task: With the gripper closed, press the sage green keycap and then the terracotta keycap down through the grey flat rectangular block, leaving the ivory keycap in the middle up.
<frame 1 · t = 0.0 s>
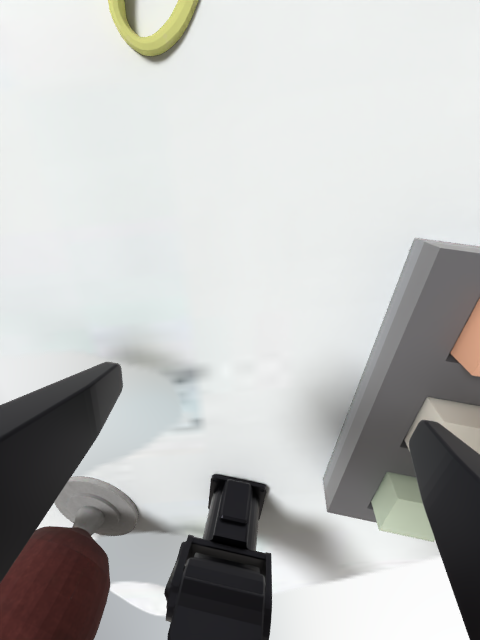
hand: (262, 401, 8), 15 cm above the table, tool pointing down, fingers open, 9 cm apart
ivory keycap: (454, 437, 21), point 4 cm above the table, slide at 0.0 cm
sage keycap: (410, 505, 24), point 4 cm above the table, slide at 0.0 cm
grey flat rectangular block: (427, 398, 24), on the table
mate gourd: (92, 502, 40), on the table
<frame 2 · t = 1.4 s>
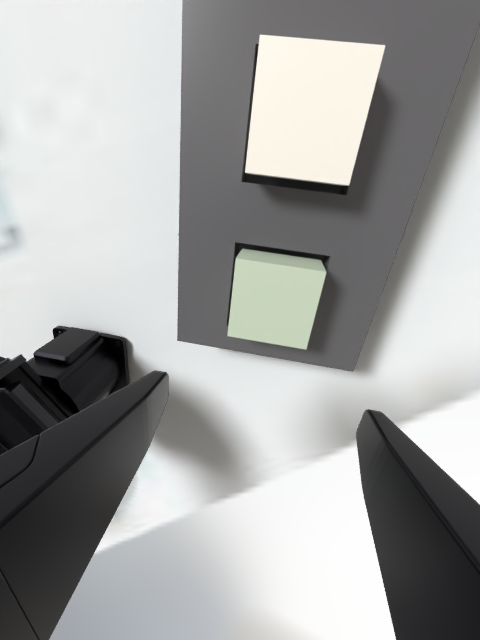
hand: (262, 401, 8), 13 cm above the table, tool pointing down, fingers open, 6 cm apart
ivory keycap: (305, 121, 12), point 4 cm above the table, slide at 0.0 cm
sage keycap: (273, 298, 16), point 4 cm above the table, slide at 0.0 cm
grey flat rectangular block: (300, 136, 16), on the table
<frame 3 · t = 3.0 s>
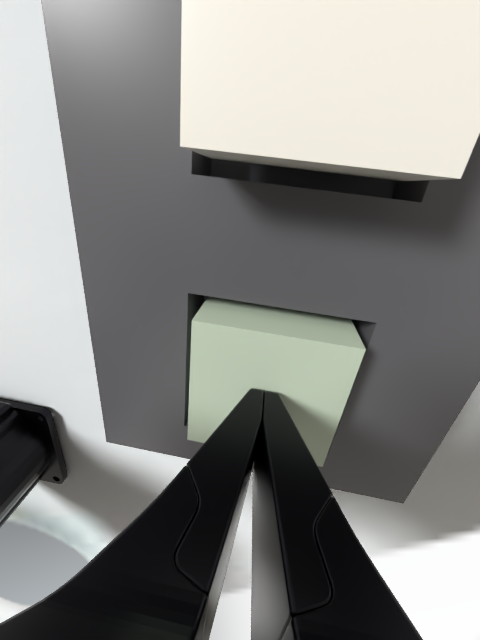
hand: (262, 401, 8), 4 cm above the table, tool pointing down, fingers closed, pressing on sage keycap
ivory keycap: (338, 11, 5), point 4 cm above the table, slide at 0.0 cm
sage keycap: (266, 375, 9), point 3 cm above the table, slide at 1.1 cm, touching gripper
grey flat rectangular block: (314, 89, 8), on the table
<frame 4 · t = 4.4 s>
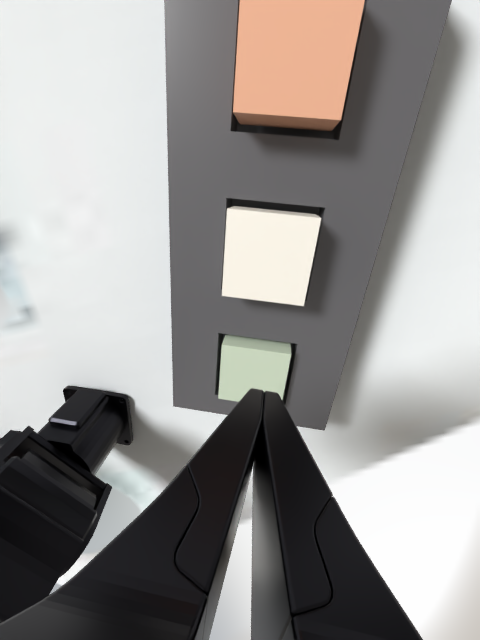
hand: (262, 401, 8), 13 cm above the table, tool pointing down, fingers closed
ivory keycap: (268, 255, 16), point 4 cm above the table, slide at 0.0 cm
sage keycap: (253, 367, 20), point 3 cm above the table, slide at 1.2 cm
terracotta keycap: (293, 58, 12), point 4 cm above the table, slide at 0.0 cm
grey flat rectangular block: (270, 242, 20), on the table
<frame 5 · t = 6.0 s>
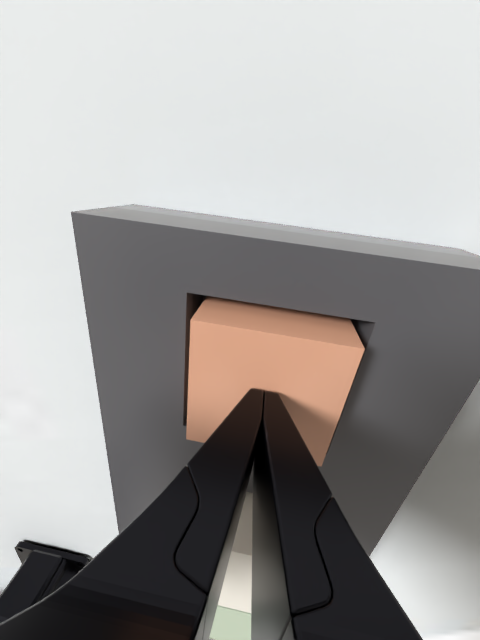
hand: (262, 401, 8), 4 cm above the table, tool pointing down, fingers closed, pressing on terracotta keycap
ivory keycap: (234, 545, 12), point 4 cm above the table, slide at 0.0 cm
sage keycap: (223, 596, 17), point 3 cm above the table, slide at 1.2 cm
terracotta keycap: (265, 375, 9), point 3 cm above the table, slide at 1.1 cm, touching gripper
grey flat rectangular block: (246, 460, 16), on the table
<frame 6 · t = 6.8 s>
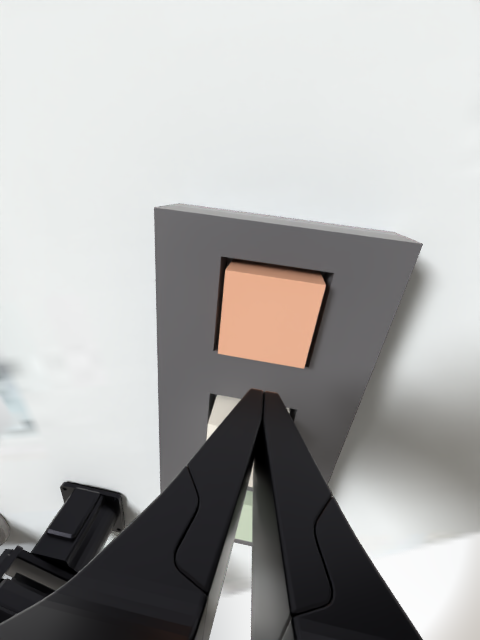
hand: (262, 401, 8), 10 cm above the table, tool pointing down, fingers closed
ivory keycap: (246, 442, 17), point 4 cm above the table, slide at 0.0 cm
sage keycap: (235, 504, 22), point 3 cm above the table, slide at 1.2 cm
terracotta keycap: (268, 312, 15), point 3 cm above the table, slide at 1.2 cm
grey flat rectangular block: (252, 396, 21), on the table
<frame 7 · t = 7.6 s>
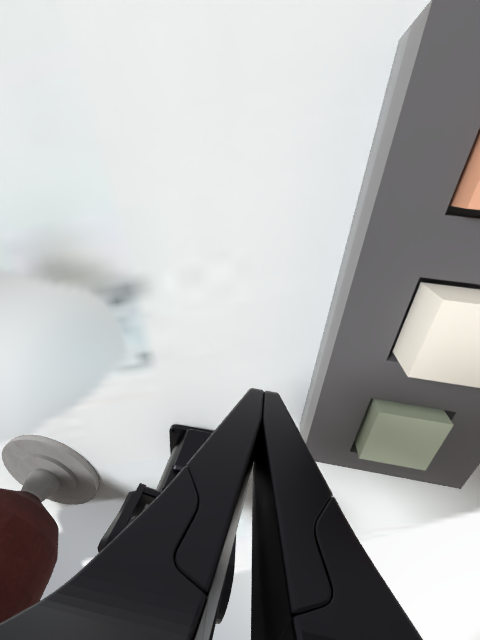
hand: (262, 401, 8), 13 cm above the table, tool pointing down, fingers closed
ivory keycap: (458, 335, 15), point 4 cm above the table, slide at 0.0 cm
sage keycap: (396, 428, 20), point 3 cm above the table, slide at 1.2 cm
grey flat rectangular block: (424, 304, 19), on the table
mate gourd: (48, 466, 35), on the table
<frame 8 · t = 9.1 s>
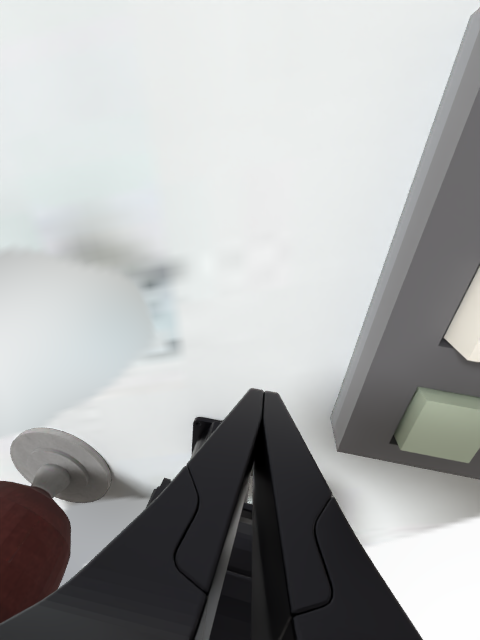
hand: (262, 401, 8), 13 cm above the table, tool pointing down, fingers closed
sage keycap: (439, 419, 20), point 3 cm above the table, slide at 1.2 cm
grey flat rectangular block: (471, 291, 19), on the table
mate gourd: (58, 461, 34), on the table
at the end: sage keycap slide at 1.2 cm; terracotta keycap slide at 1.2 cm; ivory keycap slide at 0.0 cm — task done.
